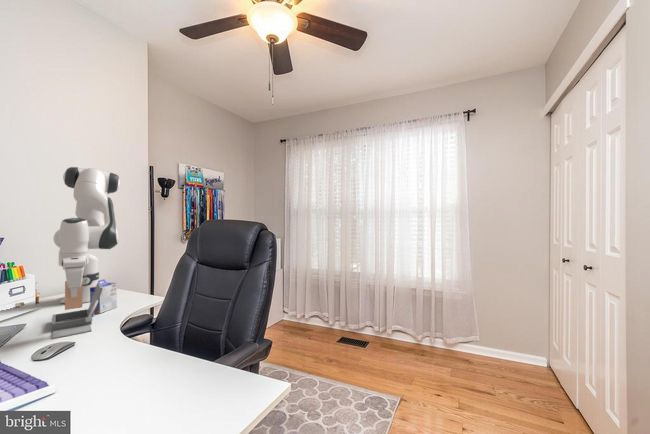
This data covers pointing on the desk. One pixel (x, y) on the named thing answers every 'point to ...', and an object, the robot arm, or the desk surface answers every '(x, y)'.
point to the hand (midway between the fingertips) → (73, 295)
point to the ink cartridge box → (105, 297)
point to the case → (77, 314)
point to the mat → (71, 331)
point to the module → (73, 302)
